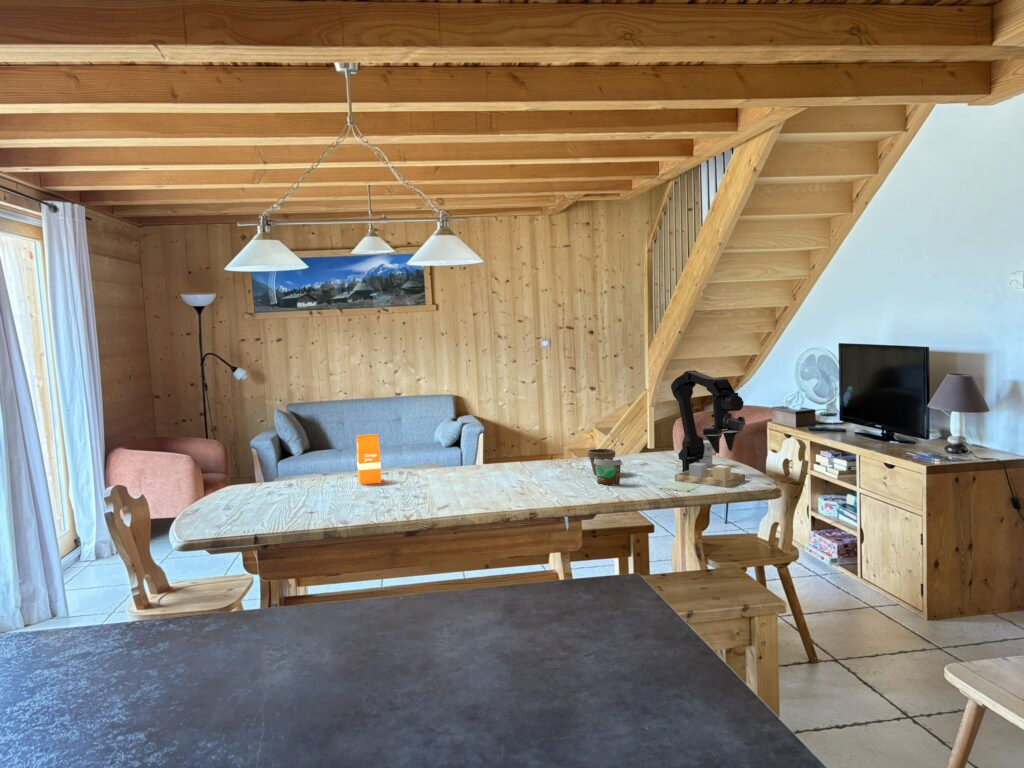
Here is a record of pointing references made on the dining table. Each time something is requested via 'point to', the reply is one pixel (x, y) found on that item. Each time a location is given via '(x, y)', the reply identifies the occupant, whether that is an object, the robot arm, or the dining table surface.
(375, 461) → the orange juice
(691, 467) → the blue-grey box
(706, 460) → the light bulb box
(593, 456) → the flower pot
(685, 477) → the wooden tray
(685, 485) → the sage tile
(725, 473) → the tan box
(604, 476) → the food container
